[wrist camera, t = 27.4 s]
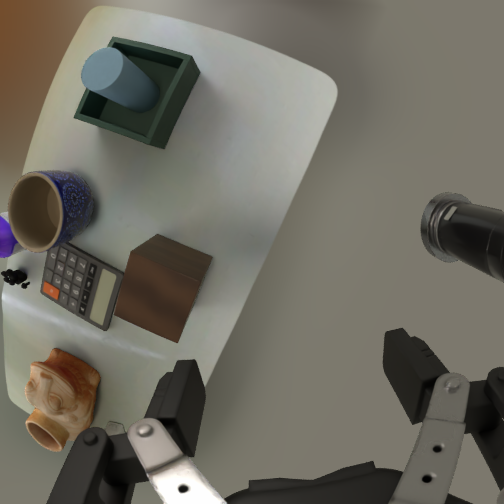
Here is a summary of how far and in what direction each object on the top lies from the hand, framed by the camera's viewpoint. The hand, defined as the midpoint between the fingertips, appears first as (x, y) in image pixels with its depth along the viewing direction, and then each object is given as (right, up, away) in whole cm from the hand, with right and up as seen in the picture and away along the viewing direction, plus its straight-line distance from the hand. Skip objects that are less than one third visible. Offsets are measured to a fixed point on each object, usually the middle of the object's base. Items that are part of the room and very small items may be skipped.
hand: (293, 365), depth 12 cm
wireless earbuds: (-45, +1, +34) cm, 56 cm away
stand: (-13, +2, +34) cm, 37 cm away
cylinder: (-17, +27, +27) cm, 42 cm away
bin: (-17, +27, +28) cm, 43 cm away
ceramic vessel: (-39, -23, +40) cm, 61 cm away
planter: (-30, +12, +31) cm, 45 cm away
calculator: (-31, -1, +35) cm, 46 cm away
